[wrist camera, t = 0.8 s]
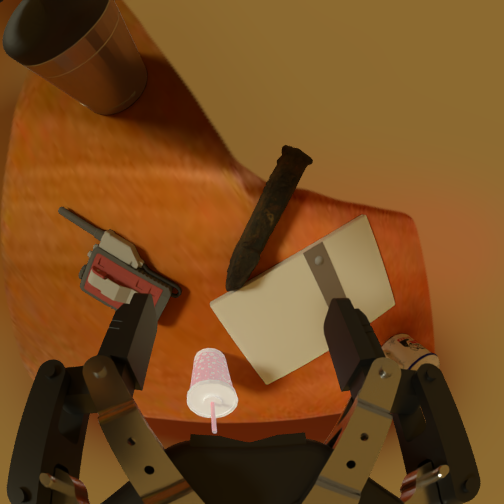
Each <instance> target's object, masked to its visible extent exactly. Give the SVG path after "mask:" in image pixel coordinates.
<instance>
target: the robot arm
mask: <svg viewBox="0 0 504 504" xmlns="http://www.w3.org/2000/svg"><path fill="white" fill-rule="evenodd" d="M2 1H3V0H0V2H2ZM3 47H4V50H5V52H6V53H7V54H8V55H9V56H10V57H11V58H13V59H14V60H16V61H17V62H19V63H21V64H22V65H23V66H25V67H27V68H28V69H30V70H31V71H33V72H34V73H36V74H37V75H39V76H41V77H42V78H44V79H45V80H47V81H48V82H50V83H51V84H53V85H54V86H56V87H57V88H59V89H60V90H62V91H63V92H65V93H66V94H68V95H69V96H71V97H72V98H74V99H75V100H77V101H78V102H80V103H81V104H83V105H84V106H86V107H87V108H89V109H90V110H92V111H93V112H95V113H98V114H101V115H110V114H115V113H118V112H121V111H123V110H125V109H126V108H128V107H129V106H130V105H132V104H133V103H134V102H135V101H136V100H137V99H138V98H139V96H140V95H141V94H142V92H143V90H144V88H145V86H146V82H147V70H146V67H145V65H144V63H143V61H142V59H141V56H140V54H139V52H138V50H137V48H136V46H135V44H134V41H133V39H132V37H131V35H130V33H129V31H128V29H127V27H126V25H125V22H124V20H123V18H122V16H121V14H120V12H119V10H118V7H117V6H116V4H115V1H114V0H23V1H22V2H21V3H20V4H19V5H18V7H17V8H16V10H15V11H14V12H13V14H12V16H11V18H10V20H9V21H8V23H7V26H6V28H5V31H4V35H3ZM323 330H324V336H325V339H326V342H327V345H328V348H329V352H330V355H331V358H332V361H333V365H334V368H335V371H336V375H337V378H338V381H339V385H340V388H341V392H342V391H349V390H350V392H351V397H350V398H349V400H348V402H347V404H346V406H345V408H344V410H343V412H342V414H341V416H340V418H339V420H338V422H337V424H336V425H335V427H334V429H333V431H332V433H331V434H330V435H329V437H328V438H327V440H326V441H325V443H324V444H323V443H321V442H318V441H315V440H311V439H306V437H305V433H296V434H283V435H276V436H272V437H269V438H265V439H262V440H258V441H254V442H243V441H238V440H234V439H230V438H225V437H222V436H210V435H195V434H191V438H190V440H189V441H184V442H180V443H177V444H175V445H172V446H170V447H168V448H167V449H164V447H163V446H162V444H161V443H160V442H159V440H158V439H157V437H156V436H155V434H154V433H153V431H152V429H151V428H150V426H149V425H148V423H147V421H146V420H145V418H144V416H143V415H142V413H141V411H140V410H139V408H138V406H137V404H136V403H135V401H134V399H133V393H134V389H136V390H143V385H144V381H145V376H146V372H147V368H148V364H149V360H150V356H151V352H152V348H153V344H154V340H155V336H156V332H157V316H156V312H155V307H154V302H153V297H152V295H151V294H147V293H134V294H133V297H132V299H131V301H130V304H127V303H123V304H122V305H121V306H120V307H119V308H118V309H117V310H116V312H115V314H114V317H113V319H112V321H111V323H110V326H109V328H108V330H107V333H106V335H105V338H104V340H103V342H102V345H101V347H100V350H99V352H98V355H97V356H94V357H92V358H90V359H89V360H87V361H86V363H85V364H84V366H79V367H68V368H65V367H64V365H63V364H62V363H61V362H60V361H58V360H48V361H46V362H44V363H43V364H42V365H41V366H40V368H39V370H38V372H37V375H36V377H35V380H34V383H33V386H32V388H31V391H30V394H29V397H28V400H27V403H26V406H25V409H24V412H23V415H22V419H21V422H20V426H19V429H18V433H17V437H16V441H15V445H14V450H13V454H12V459H11V464H10V470H9V476H8V484H7V495H8V498H9V500H10V502H11V504H90V503H89V499H88V492H87V489H86V487H85V485H84V484H83V483H82V482H81V481H80V480H79V474H80V465H81V459H82V451H83V446H84V440H85V435H86V429H87V424H88V419H89V415H90V413H98V414H99V417H98V421H99V424H100V426H101V428H102V430H103V433H104V435H105V437H106V439H107V441H108V443H109V445H110V447H111V449H112V451H113V452H114V454H115V456H116V458H117V459H118V462H119V463H120V465H121V467H122V469H123V470H124V472H125V474H126V475H127V477H128V479H129V481H128V482H127V483H126V484H125V485H123V486H122V487H121V488H120V489H119V490H117V491H116V492H115V493H114V494H112V495H111V496H110V497H109V498H107V499H106V500H105V501H104V502H102V503H101V504H463V503H465V502H468V501H470V500H472V499H473V498H474V497H475V496H476V495H477V493H478V491H479V488H480V477H479V473H478V469H477V465H476V462H475V458H474V455H473V452H472V449H471V445H470V443H469V440H468V437H467V433H466V431H465V428H464V425H463V422H462V420H461V417H460V415H459V412H458V409H457V407H456V404H455V402H454V400H453V397H452V395H451V392H450V390H449V388H448V385H447V383H446V381H445V379H444V376H443V374H442V372H441V371H440V369H439V368H438V367H437V366H435V365H433V364H430V363H425V364H422V365H421V366H420V367H419V368H418V369H417V371H416V370H408V369H401V368H400V367H399V365H398V364H397V363H396V362H395V361H393V360H392V359H389V358H386V356H385V354H384V352H383V350H382V348H381V345H380V343H379V341H378V339H377V337H376V335H375V333H374V331H373V329H372V326H370V322H369V320H368V318H367V316H366V315H365V314H364V313H363V312H362V311H361V310H360V309H359V308H356V309H354V307H353V305H352V303H351V300H350V299H349V298H333V299H332V300H331V302H330V305H329V309H328V312H327V315H326V318H325V321H324V327H323ZM420 407H421V408H420ZM421 409H422V410H421ZM422 412H423V413H422ZM390 413H391V414H390ZM423 415H424V416H423ZM424 417H425V419H424ZM392 418H393V421H394V425H395V428H396V432H397V435H398V439H399V444H400V448H401V452H402V456H403V460H404V464H405V469H406V473H407V475H406V477H405V478H404V480H403V482H402V486H401V488H400V492H401V497H400V498H398V497H397V496H395V495H394V494H392V493H390V492H389V491H388V490H386V489H384V488H383V487H382V486H381V485H379V484H378V483H376V482H375V481H374V480H372V479H371V478H370V477H369V475H370V473H371V471H372V469H373V466H374V464H375V462H376V460H377V458H378V455H379V453H380V450H381V448H382V445H383V443H384V441H385V438H386V435H387V433H388V430H389V427H390V424H391V422H392ZM425 420H426V422H425Z"/></svg>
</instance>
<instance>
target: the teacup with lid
mask: <svg viewBox="0 0 504 504" xmlns="http://www.w3.org/2000/svg"><path fill="white" fill-rule="evenodd" d="M382 350H383V352H384V354H385V356H386V358H389V359H392V360H393V361H395V362H396V363H397V364H398V365H399V367H400V368H401V369H408V370H416V371H417V369H418V368H419V367H420V366H421V365H422V364H425V363H430V364H433V365H435V366H437V367H438V368H439V364H440V362H439V358H438V357H437V355H436V354H434V353H431V352H430V351H428V350H427V349H426V348H424V347H423V346H422V345H421V344H419V343H418V342H417V341H415V340H414V339H413V338H411V337H410V336H409V335H407V334H398V335H395V336H393V337H392V338H390V339H389V340H388V341H387V342H386V343H385V344H384V345H383V346H382Z"/></svg>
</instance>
